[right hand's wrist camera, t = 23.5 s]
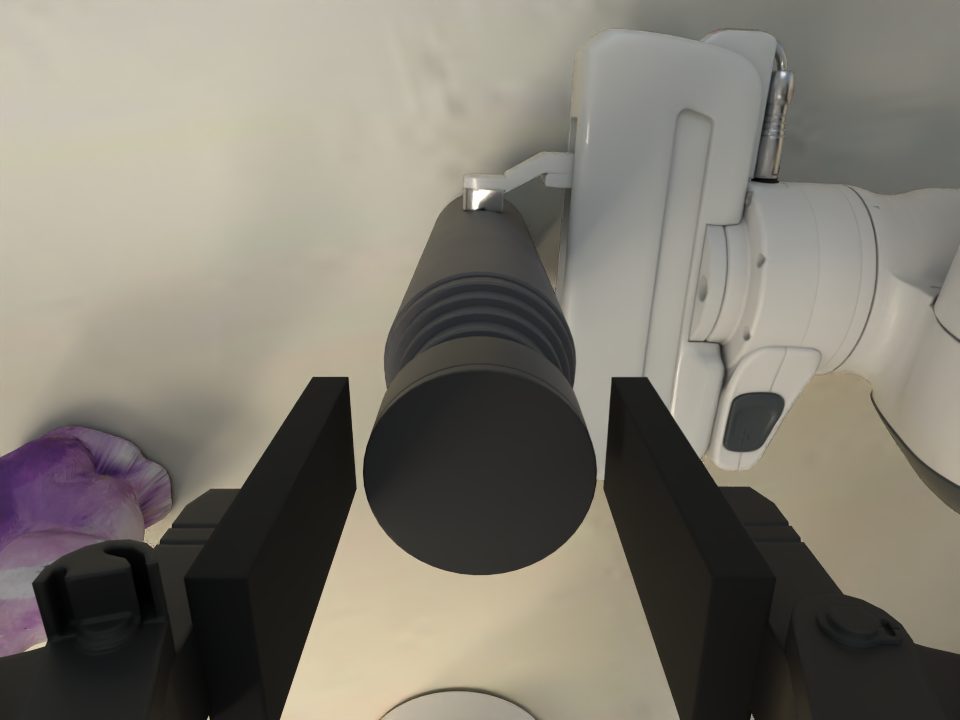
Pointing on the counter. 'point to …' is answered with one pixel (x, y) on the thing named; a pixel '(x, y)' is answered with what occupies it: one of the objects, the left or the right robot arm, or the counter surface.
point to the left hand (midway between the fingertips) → (460, 266)
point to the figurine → (67, 513)
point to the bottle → (480, 291)
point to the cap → (480, 458)
